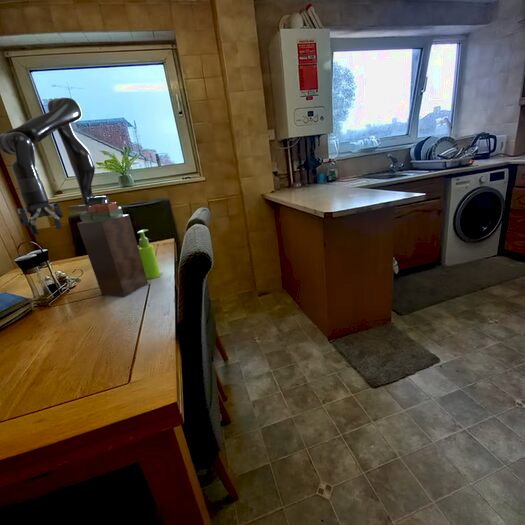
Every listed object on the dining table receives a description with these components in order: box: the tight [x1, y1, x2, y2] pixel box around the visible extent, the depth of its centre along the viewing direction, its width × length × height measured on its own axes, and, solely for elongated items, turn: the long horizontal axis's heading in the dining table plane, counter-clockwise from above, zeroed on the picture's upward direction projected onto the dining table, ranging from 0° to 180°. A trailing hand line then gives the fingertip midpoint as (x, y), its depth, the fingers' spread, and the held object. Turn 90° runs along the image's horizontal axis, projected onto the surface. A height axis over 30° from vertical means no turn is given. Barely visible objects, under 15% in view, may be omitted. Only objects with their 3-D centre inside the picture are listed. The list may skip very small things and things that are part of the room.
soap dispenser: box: [137, 228, 161, 280], centre depth 116 cm, size 6×7×20 cm
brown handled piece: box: [66, 201, 119, 215], centre depth 100 cm, size 9×22×4 cm, turn 69°
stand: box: [76, 206, 149, 298], centre depth 104 cm, size 13×13×31 cm
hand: (48, 231), depth 111 cm, fingers open, 8 cm apart
